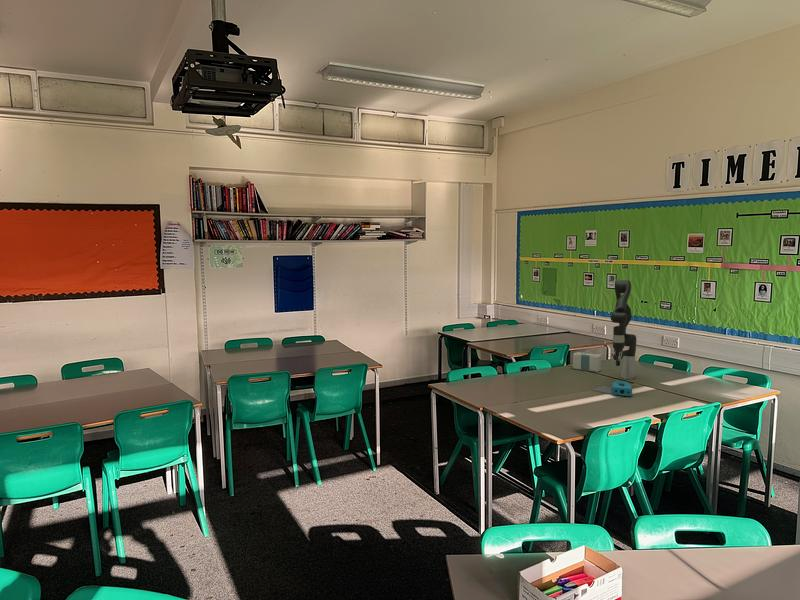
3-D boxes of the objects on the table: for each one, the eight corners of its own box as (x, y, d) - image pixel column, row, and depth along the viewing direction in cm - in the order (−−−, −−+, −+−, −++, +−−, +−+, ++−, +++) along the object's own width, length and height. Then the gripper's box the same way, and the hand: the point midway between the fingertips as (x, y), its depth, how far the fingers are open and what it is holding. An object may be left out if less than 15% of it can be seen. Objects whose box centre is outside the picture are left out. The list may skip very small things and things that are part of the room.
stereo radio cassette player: (572, 369, 446) (572, 345, 444) (576, 367, 452) (576, 343, 450) (598, 373, 433) (598, 347, 431) (601, 371, 439) (602, 346, 437)
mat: (604, 386, 392) (604, 385, 392) (627, 391, 378) (627, 390, 378) (591, 390, 384) (591, 389, 384) (615, 395, 369) (615, 394, 369)
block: (630, 381, 383) (632, 388, 364) (629, 388, 383) (631, 396, 364) (611, 380, 387) (612, 387, 368) (611, 387, 387) (612, 394, 368)
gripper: (619, 339, 390) (618, 363, 391) (608, 341, 382) (607, 366, 384) (628, 340, 384) (628, 365, 385) (617, 343, 376) (617, 368, 378)
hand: (618, 365), depth 385 cm, fingers closed
